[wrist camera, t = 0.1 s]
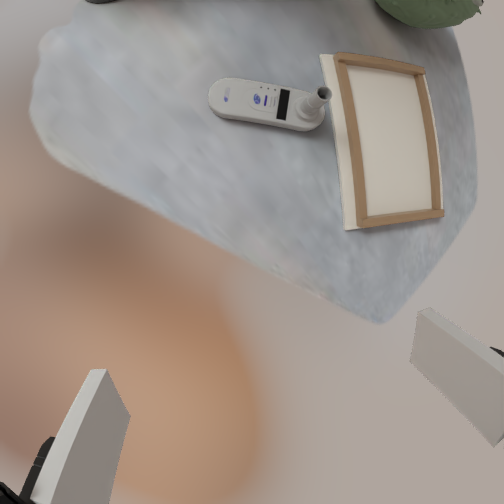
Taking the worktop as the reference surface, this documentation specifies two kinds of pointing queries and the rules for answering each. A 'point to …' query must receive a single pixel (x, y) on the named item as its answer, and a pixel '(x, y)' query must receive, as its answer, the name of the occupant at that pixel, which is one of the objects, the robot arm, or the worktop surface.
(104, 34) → the worktop surface
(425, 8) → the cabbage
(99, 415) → the robot arm
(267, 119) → the electronic device
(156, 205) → the worktop surface
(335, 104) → the wooden framed canvas
